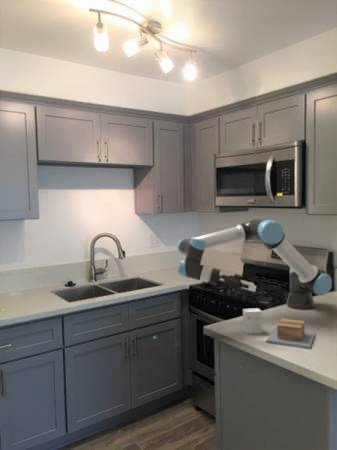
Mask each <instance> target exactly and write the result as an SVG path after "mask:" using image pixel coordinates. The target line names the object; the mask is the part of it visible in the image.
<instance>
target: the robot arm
mask: <svg viewBox="0 0 337 450" xmlns="http://www.w3.org/2000/svg"><path fill="white" fill-rule="evenodd" d="M239 241H240V242H247V241H254V242H258V243H261V244H262V245H263V246H264V248H266V249H267V250H269V251H270V250H272V251H274V253H275V254H276V255H277V256H278V257H280V258H281V259H282V260H283V262H284V263H285V264H286V265H287V266H288V267H289V274H288V275H289V293H288V296H287V300H286V306H287V307H288V308H290V309H294V310H311V309H314V308H315V300H314V298H313V295H312V293H313V294H315V295H318V296H325V295H326V294H328V292H330V290H331V288H332V285H333V282H332V281H333V279H332V276H330V274H327V273H326V272H322V271H321V269H319V268H318V266H317V265H311V264H310V263H309V262H308V260H307V259H306V258H305V257H304V256H303V255H302V254H301V253H300V252H299V251H298V250H297V249H296V248H295V247H294V246H293V245H292V244H291V243H290V242H289V241H288V239H286V234H285V232H284V228H283V226H282V225H281V224H280V223H279V221H276V220H273V219H260V218H259V219H252V220H248V221H244V222H242V223H238V224H237V225H236V226H234V227H230V228H227V229H223V230H219V231H215V232H210V233H207V234H202V235H200V236H196V237H194V236H192V237H191V238H183V239H180V240H179V241H178V242H177V251H179V252H180V253H181V254H183V255H186V256H185V259H181V260H180V263H179V266H178V268H177V270H178V271H177V273H178V275H180V276H182V277H186V278H189V279H192V280H195V281H201V283H208V282H209V284H211V285H214V286H217V285H218V281H219V283H221V284H224V285H228V286H232V287H235V288H238V290H241V289H243V290H247V291H250V292H253V293H255V292H256V289H257V285H255V283H254V282H250V281H247V280H243V279H242V278H241V277H239V278H236V277H232V276H229V275H227V274H221V269H218V268H213V267H211V266H207V265H204V264H203V265H202V264H201V263H202V259H203V255H204V252H205V250H209V249H212V248H216V247H221V246H225V245H228V244H231V243H235V242H239ZM220 274H221V275H220Z"/></svg>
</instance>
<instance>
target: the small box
mask: <svg viewBox="0 0 337 450" xmlns="http://www.w3.org/2000/svg"><path fill="white" fill-rule="evenodd" d="M242 330H243V332H244V333H245V334H247V335H248V334H249V335H251V334H253V335H254V334H262V333H263V311H262V310H261V309H260V308H258V307H256V308H255V307H254V308H253V307H252V308H242Z"/></svg>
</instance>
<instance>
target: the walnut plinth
mask: <svg viewBox="0 0 337 450" xmlns="http://www.w3.org/2000/svg"><path fill="white" fill-rule="evenodd" d="M305 323H306V322H305V320H298V319H289V318H288V319H287V318H281V319H280V320H279V321H278V324H277V327H276V328H277V338H278V339H285V340H292V341H299V342H301V341H302V339H303V337H304V334H305V331H306V330H305V326H306V325H305Z"/></svg>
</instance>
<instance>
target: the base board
mask: <svg viewBox="0 0 337 450" xmlns="http://www.w3.org/2000/svg"><path fill="white" fill-rule="evenodd" d="M315 336H316V332H313V331H308V330H307V331H306V330H305V334H304V337H303V339H302V341H301V342H299V341H292V340H285V339H278V338H277V327H274V328H273V329H272V331H271V333H270V334H269V336H268V337H267V339H266V340H265V342H266V343H268V344H274V345H281V346H287V347H295V348H300V349H301V348H302V349H308V350H310V349H311V346H312V344H313V342H314V338H315Z"/></svg>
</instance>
